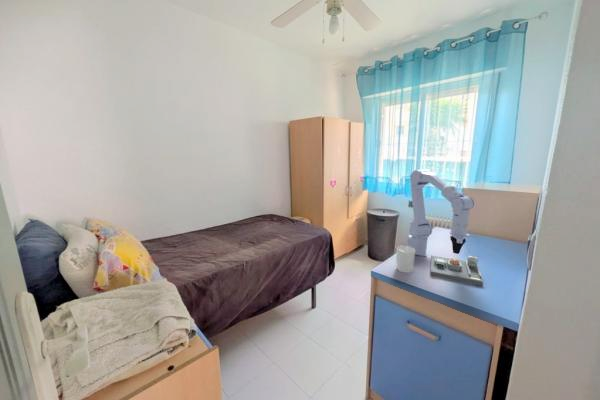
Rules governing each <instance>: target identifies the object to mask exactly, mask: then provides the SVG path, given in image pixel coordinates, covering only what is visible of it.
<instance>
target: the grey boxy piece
mask: <svg viewBox="0 0 600 400" xmlns="http://www.w3.org/2000/svg"><path fill="white" fill-rule="evenodd" d="M466 260H467V264H468V266H469V267H471V268H475V267H476V266H477V265H478V264H479V263H478V262H479V257H478V256H477V257H476V256H472V255H468V256H467V259H466Z"/></svg>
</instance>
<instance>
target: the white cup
mask: <svg viewBox="0 0 600 400" xmlns="http://www.w3.org/2000/svg"><path fill="white" fill-rule="evenodd" d="M415 256H416V255H415V249H414V248H412V247H409V246H407V245H398V246H397V247H396V256H395V257H396V260H395V261H396V267H395V268H396V270H398V271H399V272H401V273H406V274H408V273H412V272H413V267H414V262H415Z"/></svg>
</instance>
